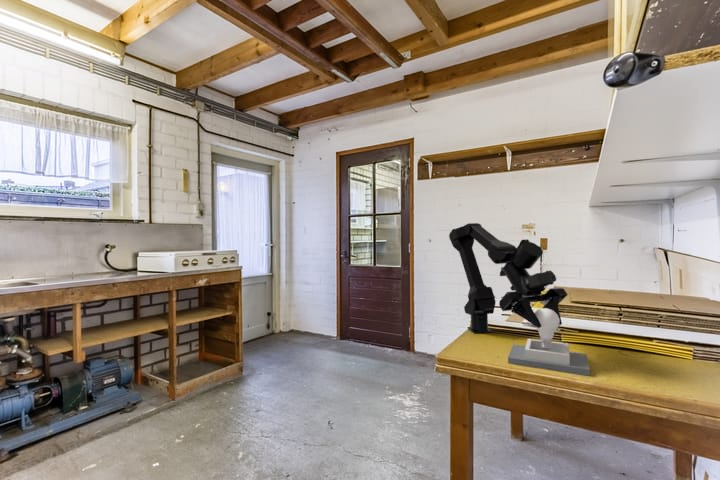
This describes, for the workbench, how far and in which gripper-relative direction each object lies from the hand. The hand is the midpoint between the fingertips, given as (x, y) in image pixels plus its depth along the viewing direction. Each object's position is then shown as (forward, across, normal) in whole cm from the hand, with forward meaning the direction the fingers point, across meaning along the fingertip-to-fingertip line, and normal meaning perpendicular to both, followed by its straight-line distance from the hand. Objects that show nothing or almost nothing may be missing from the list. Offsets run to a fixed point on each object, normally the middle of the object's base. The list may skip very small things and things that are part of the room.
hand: (550, 325), depth 89 cm
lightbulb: (+4, 0, +6) cm, 7 cm away
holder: (+6, 0, +8) cm, 10 cm away
